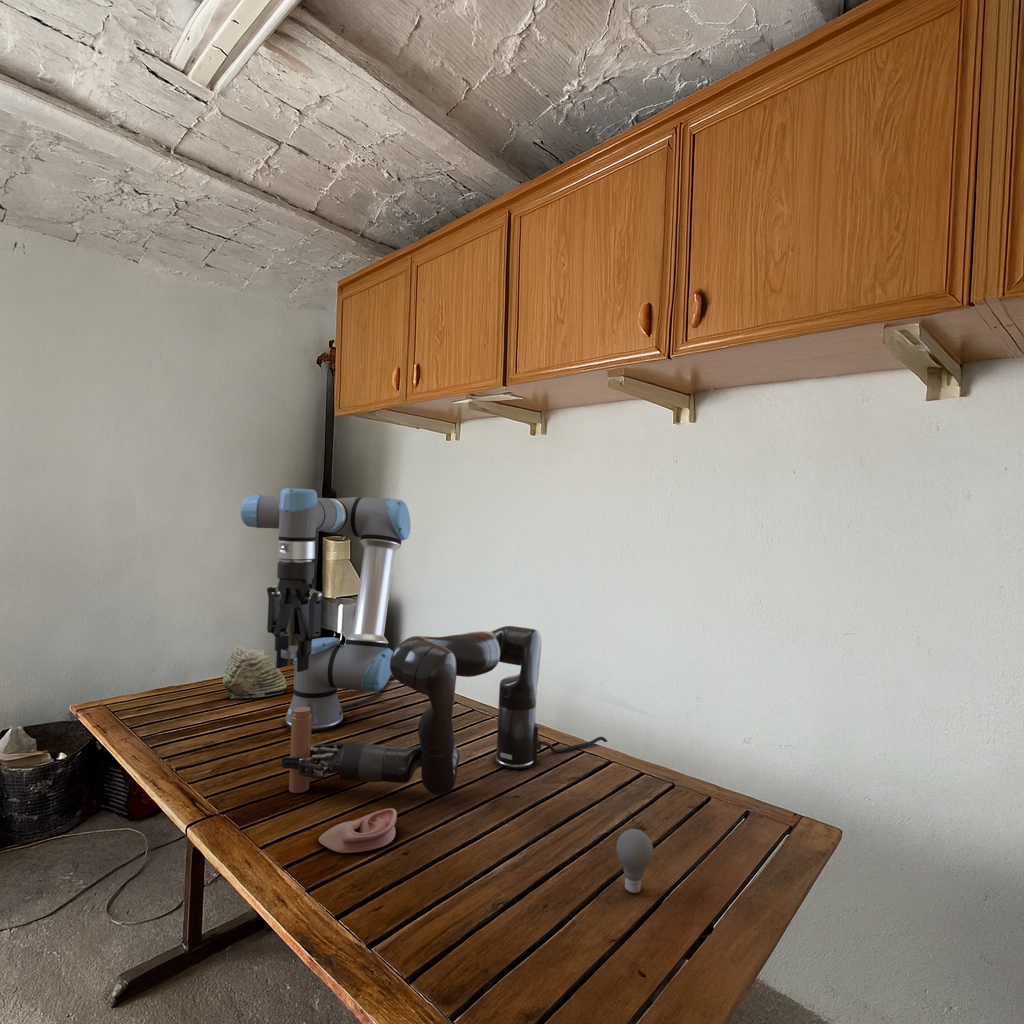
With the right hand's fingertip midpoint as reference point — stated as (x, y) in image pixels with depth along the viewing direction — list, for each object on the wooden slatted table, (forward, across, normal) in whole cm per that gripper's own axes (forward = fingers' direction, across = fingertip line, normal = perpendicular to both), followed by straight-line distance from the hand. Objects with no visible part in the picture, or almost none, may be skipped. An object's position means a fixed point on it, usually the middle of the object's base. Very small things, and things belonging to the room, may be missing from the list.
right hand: (287, 757), depth 137 cm
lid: (0, +1, -24) cm, 24 cm away
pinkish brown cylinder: (-3, 0, +7) cm, 7 cm away
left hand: (0, +1, -20) cm, 20 cm away
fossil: (+35, -59, +7) cm, 69 cm away
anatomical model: (-21, +18, +7) cm, 28 cm away
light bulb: (-71, +28, +7) cm, 76 cm away
